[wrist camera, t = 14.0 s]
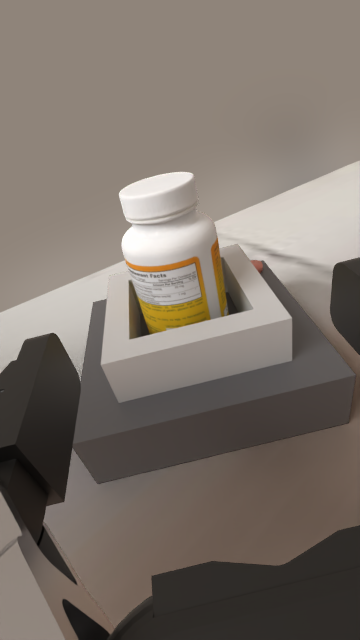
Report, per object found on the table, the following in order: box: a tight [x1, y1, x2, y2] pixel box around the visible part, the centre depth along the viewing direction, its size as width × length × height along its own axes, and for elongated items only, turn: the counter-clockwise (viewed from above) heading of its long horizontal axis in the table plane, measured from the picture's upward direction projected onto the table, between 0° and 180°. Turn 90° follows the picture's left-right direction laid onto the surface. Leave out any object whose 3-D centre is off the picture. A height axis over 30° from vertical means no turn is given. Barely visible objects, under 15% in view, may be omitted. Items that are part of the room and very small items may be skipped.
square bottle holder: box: [72, 244, 356, 484], centre depth 23 cm, size 15×14×7 cm
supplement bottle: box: [119, 172, 229, 335], centre depth 20 cm, size 5×5×10 cm
